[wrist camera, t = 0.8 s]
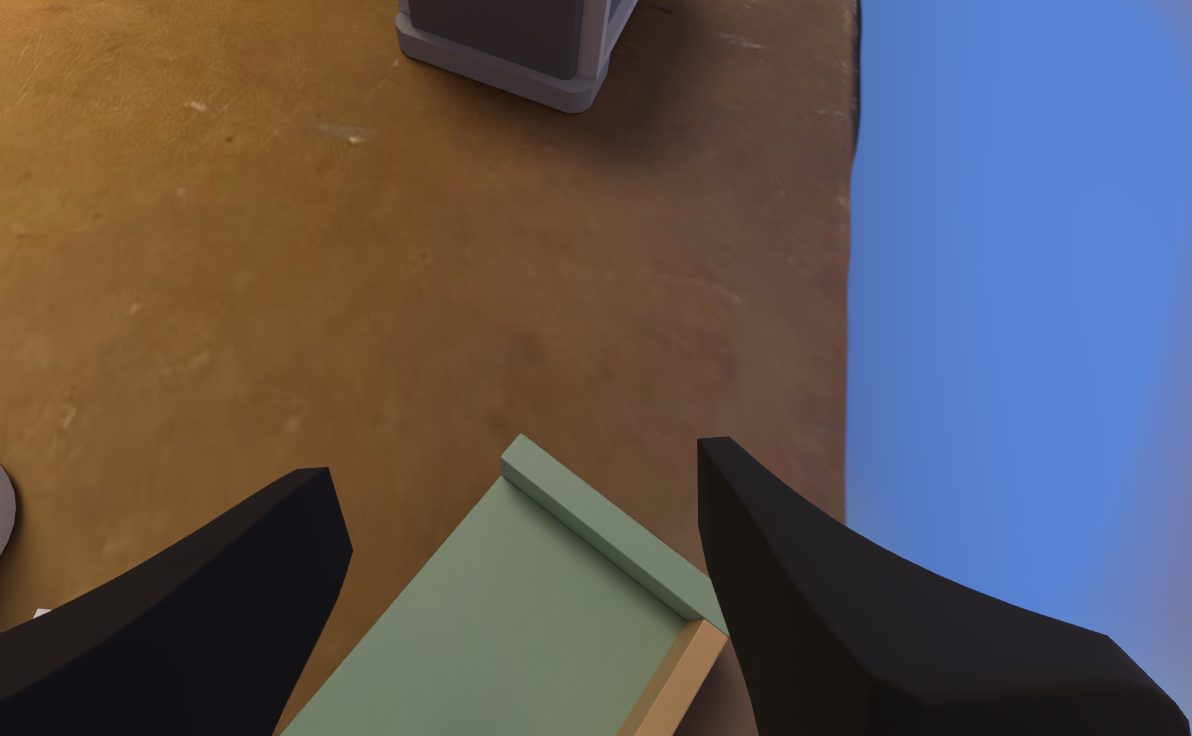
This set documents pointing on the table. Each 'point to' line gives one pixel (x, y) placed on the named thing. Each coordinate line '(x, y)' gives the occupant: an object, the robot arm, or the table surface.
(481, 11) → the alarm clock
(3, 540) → the milk bottle
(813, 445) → the table surface
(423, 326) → the table surface
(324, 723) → the shelf
